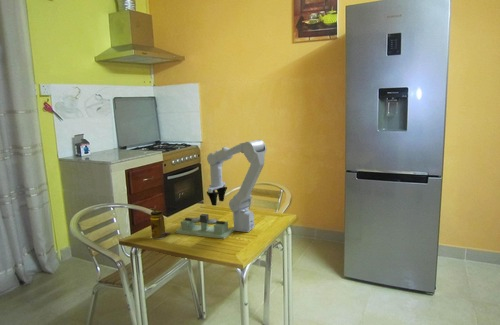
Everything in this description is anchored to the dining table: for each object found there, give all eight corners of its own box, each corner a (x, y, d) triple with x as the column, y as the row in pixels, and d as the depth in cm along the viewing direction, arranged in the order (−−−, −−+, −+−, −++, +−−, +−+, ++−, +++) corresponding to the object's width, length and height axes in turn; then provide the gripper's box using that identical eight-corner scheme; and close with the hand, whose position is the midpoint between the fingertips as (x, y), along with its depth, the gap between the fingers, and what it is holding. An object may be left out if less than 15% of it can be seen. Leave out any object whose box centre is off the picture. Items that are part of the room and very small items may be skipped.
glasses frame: (226, 222, 154) (226, 215, 153) (221, 225, 149) (221, 218, 149) (188, 218, 162) (188, 211, 161) (182, 221, 157) (182, 214, 157)
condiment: (148, 238, 152) (145, 213, 150) (159, 231, 160) (157, 207, 158) (161, 240, 149) (158, 214, 147) (172, 233, 157) (170, 208, 155)
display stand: (234, 231, 156) (233, 220, 155) (224, 238, 147) (223, 228, 146) (187, 225, 166) (186, 216, 165) (175, 232, 157) (174, 222, 156)
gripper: (216, 173, 172) (217, 198, 175) (201, 179, 159) (203, 206, 161) (228, 174, 169) (229, 199, 172) (214, 180, 156) (216, 207, 159)
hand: (217, 203), depth 166 cm, fingers open, 7 cm apart
